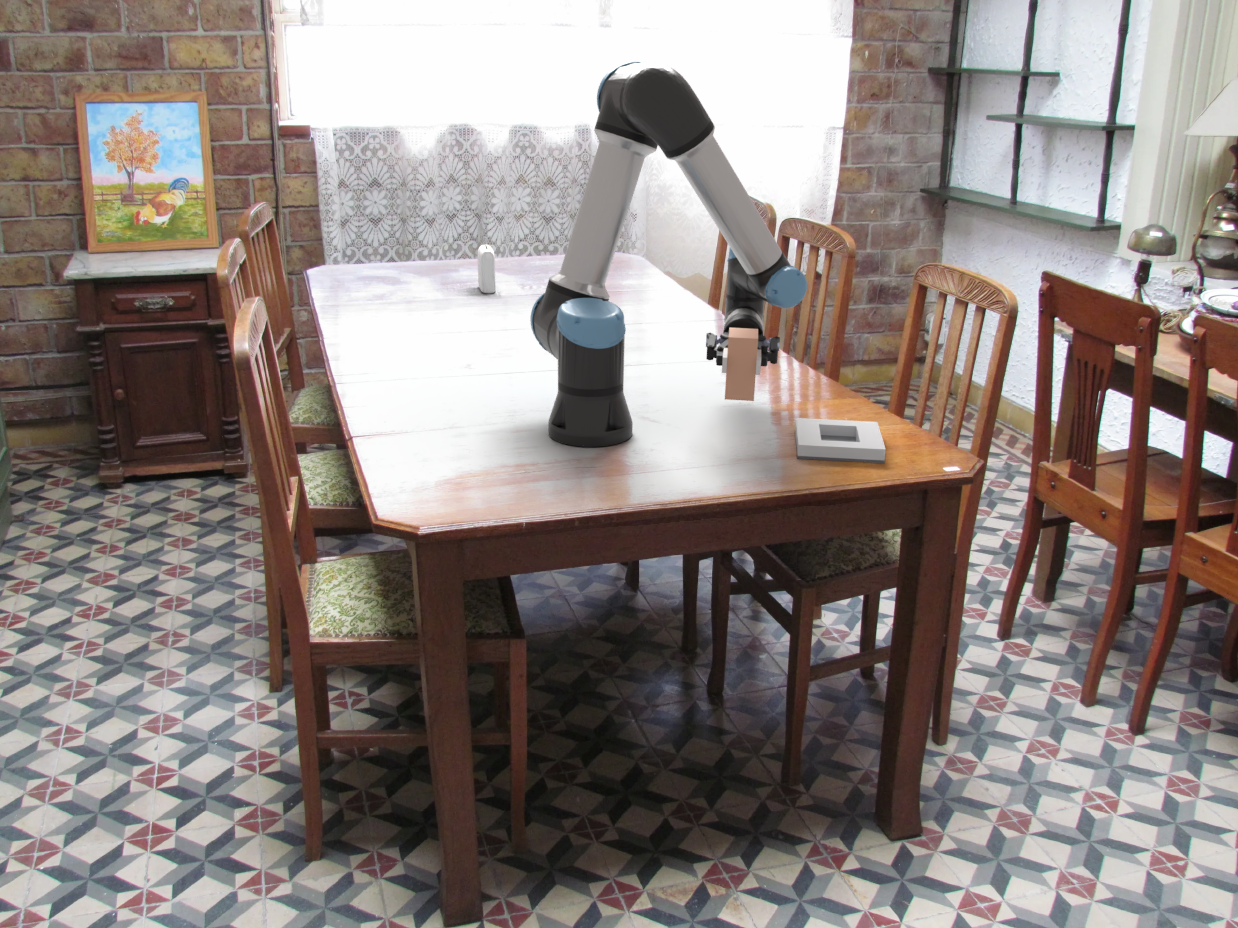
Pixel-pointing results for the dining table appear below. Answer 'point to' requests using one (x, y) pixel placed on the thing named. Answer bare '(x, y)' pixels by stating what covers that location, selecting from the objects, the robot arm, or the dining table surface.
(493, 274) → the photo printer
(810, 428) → the pocket plate
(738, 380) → the peach block
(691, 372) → the dining table surface
